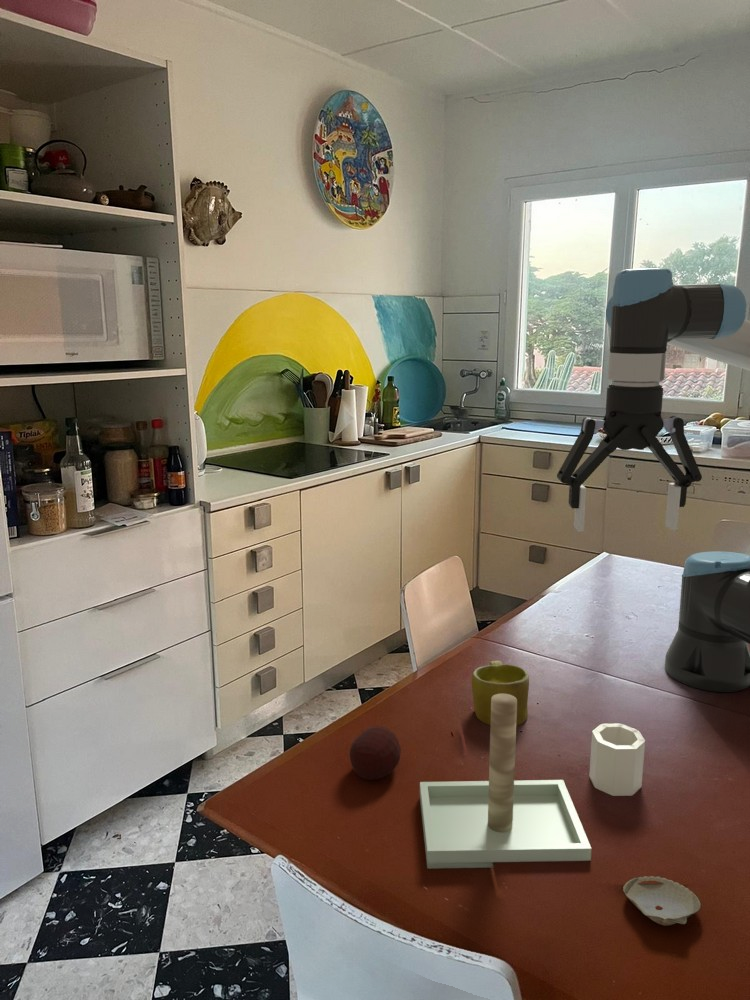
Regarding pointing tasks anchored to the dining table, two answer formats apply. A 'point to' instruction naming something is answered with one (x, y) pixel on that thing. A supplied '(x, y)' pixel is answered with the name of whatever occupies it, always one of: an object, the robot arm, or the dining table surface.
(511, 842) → the tray
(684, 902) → the seashell
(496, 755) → the dowel
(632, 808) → the dining table surface
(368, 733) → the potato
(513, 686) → the mug
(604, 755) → the crock
